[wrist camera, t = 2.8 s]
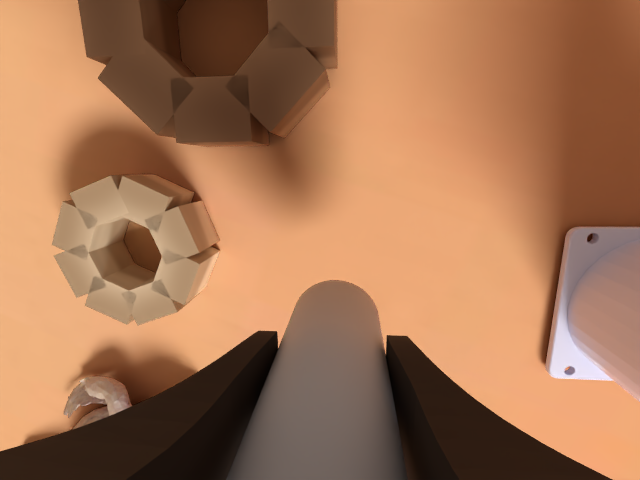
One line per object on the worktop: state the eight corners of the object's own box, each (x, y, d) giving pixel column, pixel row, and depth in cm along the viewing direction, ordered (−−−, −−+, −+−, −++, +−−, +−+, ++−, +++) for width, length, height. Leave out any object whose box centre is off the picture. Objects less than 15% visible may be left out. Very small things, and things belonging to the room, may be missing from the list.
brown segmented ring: (337, -103, 14) (333, -174, 11) (337, 144, 16) (334, 139, 13) (113, -84, 15) (55, -145, 12) (142, 147, 17) (100, 144, 14)
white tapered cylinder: (380, 281, 13) (445, 547, 4) (378, 361, 13) (428, 736, 5) (291, 279, 13) (165, 521, 4) (294, 357, 14) (191, 703, 5)
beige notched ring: (182, 157, 17) (155, 156, 15) (237, 279, 18) (219, 297, 16) (72, 204, 18) (29, 210, 16) (130, 316, 19) (98, 338, 17)
